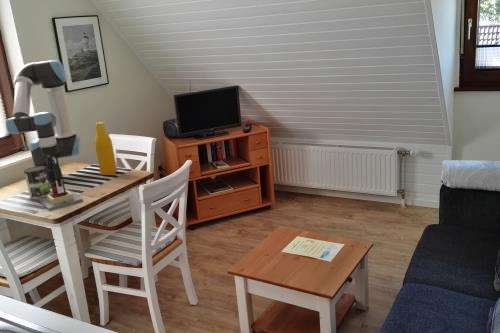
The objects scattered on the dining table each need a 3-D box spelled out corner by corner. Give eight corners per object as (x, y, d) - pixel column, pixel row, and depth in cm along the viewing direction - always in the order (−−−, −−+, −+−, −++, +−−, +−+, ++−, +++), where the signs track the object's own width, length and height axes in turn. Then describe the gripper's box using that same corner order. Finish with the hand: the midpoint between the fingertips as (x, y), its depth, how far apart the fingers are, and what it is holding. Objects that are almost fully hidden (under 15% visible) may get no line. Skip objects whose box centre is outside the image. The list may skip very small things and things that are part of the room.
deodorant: (69, 198, 251) (62, 168, 247) (57, 202, 247) (51, 172, 243) (63, 196, 255) (56, 167, 251) (51, 200, 251) (45, 170, 247)
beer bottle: (117, 169, 296) (107, 120, 288) (117, 174, 288) (108, 123, 279) (100, 172, 294) (90, 122, 286) (100, 177, 286) (90, 125, 277)
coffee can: (55, 192, 266) (49, 166, 262) (38, 199, 258) (32, 172, 254) (42, 190, 272) (36, 165, 268) (25, 197, 264) (19, 171, 260)
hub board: (39, 201, 255) (38, 194, 254) (72, 192, 263) (70, 186, 262) (48, 210, 240) (47, 203, 239) (82, 201, 248) (81, 193, 247)
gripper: (35, 143, 250) (45, 187, 257) (45, 150, 233) (56, 197, 239) (50, 140, 254) (60, 184, 260) (62, 146, 237) (72, 193, 243)
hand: (58, 190), depth 250 cm, fingers open, 8 cm apart
